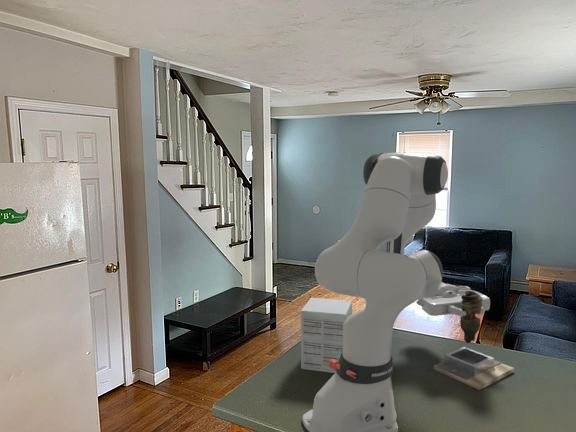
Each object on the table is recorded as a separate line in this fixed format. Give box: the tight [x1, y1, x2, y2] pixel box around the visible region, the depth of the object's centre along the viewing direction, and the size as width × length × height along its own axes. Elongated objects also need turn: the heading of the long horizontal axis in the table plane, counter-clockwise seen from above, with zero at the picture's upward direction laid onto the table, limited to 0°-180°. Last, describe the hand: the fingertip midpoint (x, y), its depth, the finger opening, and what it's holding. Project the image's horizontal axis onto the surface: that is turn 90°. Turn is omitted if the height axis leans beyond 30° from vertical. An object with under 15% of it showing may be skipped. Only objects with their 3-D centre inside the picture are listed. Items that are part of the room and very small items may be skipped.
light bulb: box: [459, 290, 483, 344], centre depth 122 cm, size 6×6×15 cm
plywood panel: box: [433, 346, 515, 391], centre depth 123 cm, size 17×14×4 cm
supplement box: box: [300, 297, 353, 374], centre depth 128 cm, size 13×13×18 cm
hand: (473, 312), depth 121 cm, fingers closed on light bulb, 4 cm apart
